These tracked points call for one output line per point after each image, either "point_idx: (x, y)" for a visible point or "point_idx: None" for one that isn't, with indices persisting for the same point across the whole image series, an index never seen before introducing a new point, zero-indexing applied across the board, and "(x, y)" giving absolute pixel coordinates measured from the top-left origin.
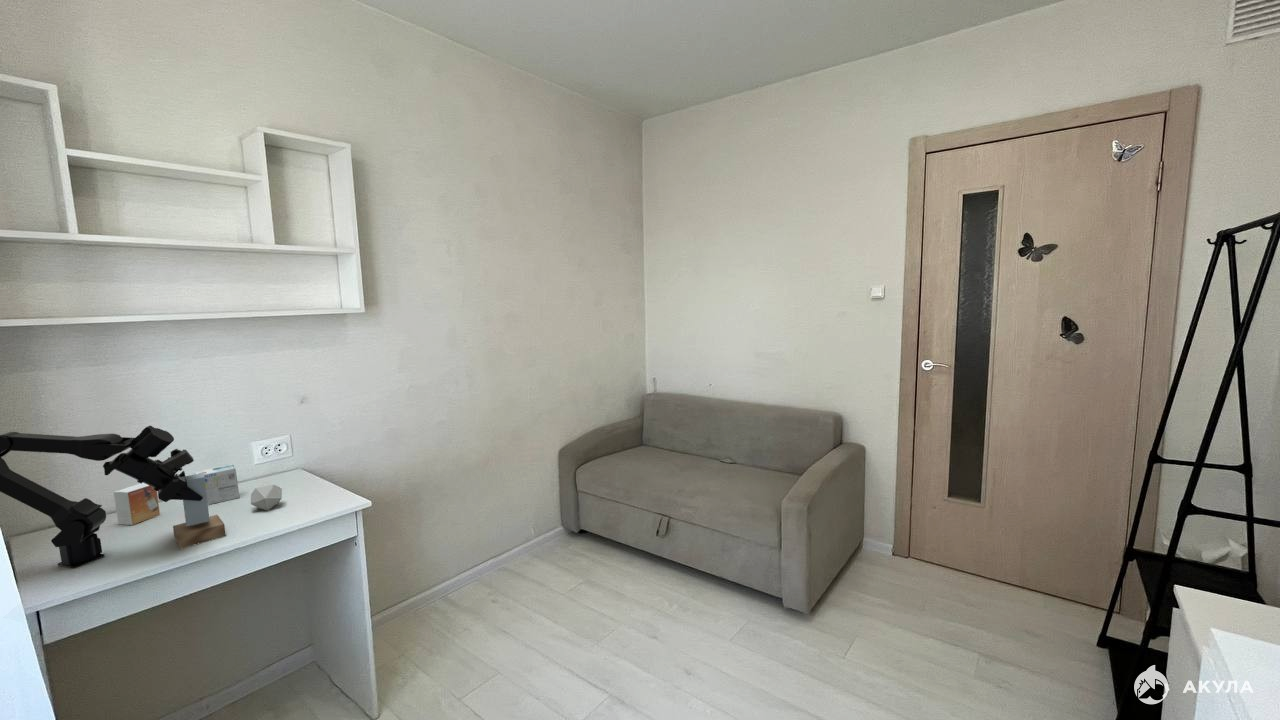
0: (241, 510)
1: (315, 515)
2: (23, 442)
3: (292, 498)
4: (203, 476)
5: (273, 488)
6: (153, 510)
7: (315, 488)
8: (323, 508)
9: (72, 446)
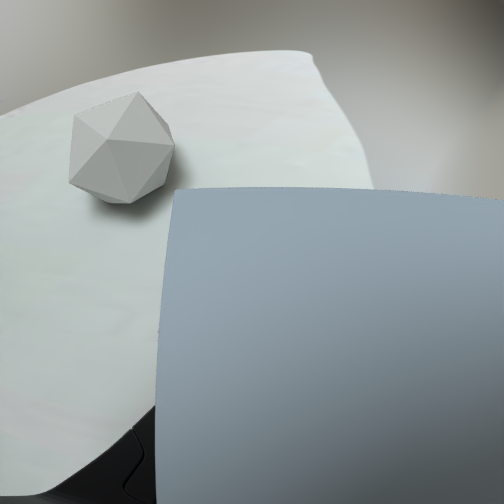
0: (82, 249)
1: (335, 108)
2: None
3: None
4: (500, 207)
5: (148, 105)
6: None
7: (101, 91)
8: (290, 89)
9: None
